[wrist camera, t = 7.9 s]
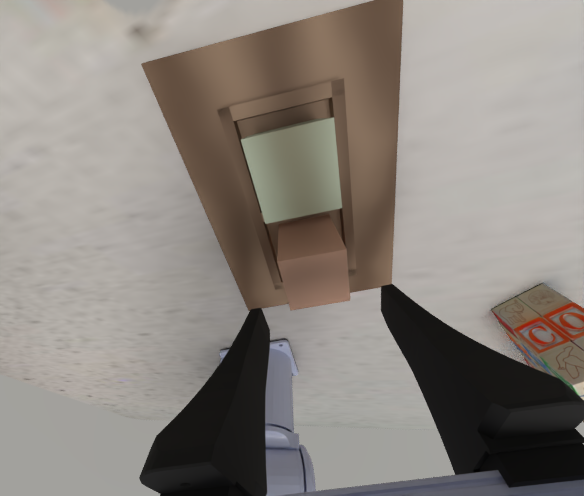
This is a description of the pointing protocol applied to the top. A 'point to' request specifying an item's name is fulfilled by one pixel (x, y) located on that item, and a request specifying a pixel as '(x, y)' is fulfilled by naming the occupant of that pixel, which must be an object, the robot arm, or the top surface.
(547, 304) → the stack of blocks
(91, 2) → the top surface
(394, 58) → the walnut base
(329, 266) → the terracotta block
